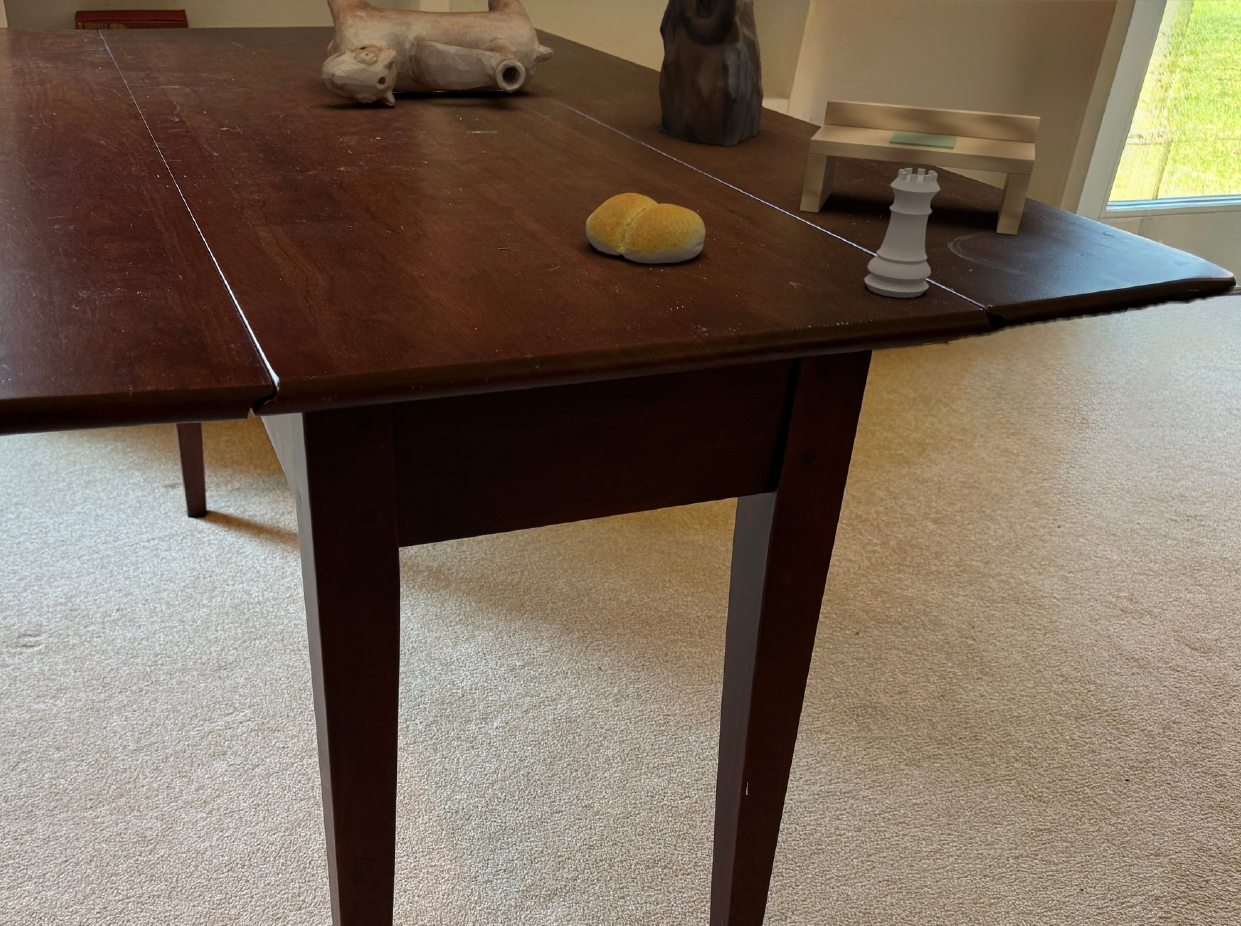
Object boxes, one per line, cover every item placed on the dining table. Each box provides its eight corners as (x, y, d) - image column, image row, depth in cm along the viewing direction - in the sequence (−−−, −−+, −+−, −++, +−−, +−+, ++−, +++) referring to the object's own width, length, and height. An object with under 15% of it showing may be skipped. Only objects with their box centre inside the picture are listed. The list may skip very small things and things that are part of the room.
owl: (731, 149, 123) (755, -63, 113) (624, 136, 128) (637, -69, 118) (765, 131, 133) (790, -65, 123) (664, 120, 138) (680, -70, 127)
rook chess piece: (937, 289, 81) (963, 172, 77) (912, 303, 78) (937, 182, 74) (878, 276, 83) (900, 162, 79) (851, 289, 80) (872, 171, 76)
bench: (1017, 211, 102) (1040, 116, 98) (1016, 235, 95) (1041, 133, 91) (815, 190, 107) (828, 99, 103) (799, 211, 100) (814, 113, 96)
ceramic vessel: (305, -38, 147) (328, 7, 128) (534, -13, 156) (587, 33, 137) (303, 67, 155) (324, 124, 136) (521, 86, 164) (569, 142, 145)
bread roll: (667, 273, 83) (672, 217, 80) (569, 249, 87) (571, 195, 85) (726, 250, 88) (732, 197, 86) (630, 229, 93) (634, 178, 91)
